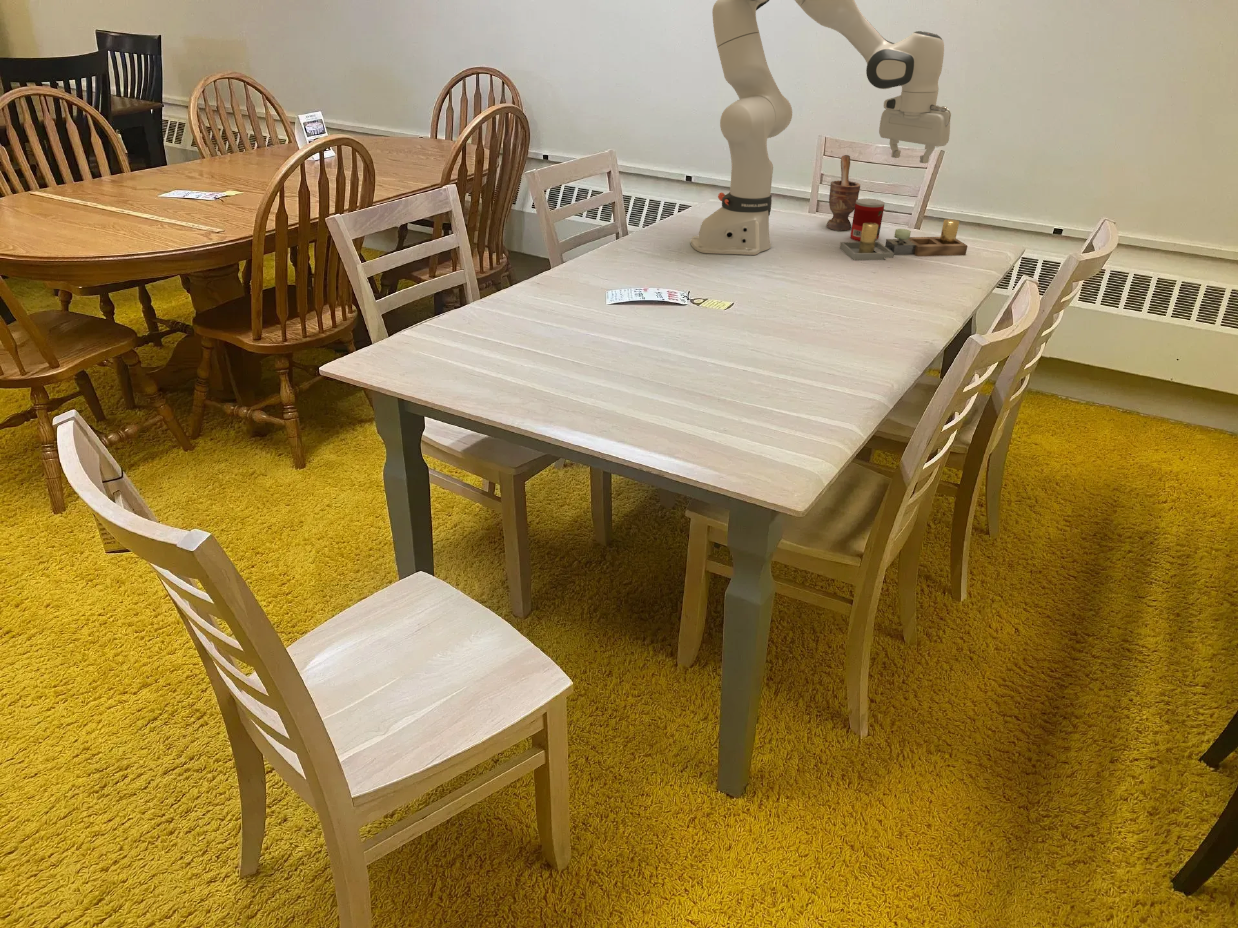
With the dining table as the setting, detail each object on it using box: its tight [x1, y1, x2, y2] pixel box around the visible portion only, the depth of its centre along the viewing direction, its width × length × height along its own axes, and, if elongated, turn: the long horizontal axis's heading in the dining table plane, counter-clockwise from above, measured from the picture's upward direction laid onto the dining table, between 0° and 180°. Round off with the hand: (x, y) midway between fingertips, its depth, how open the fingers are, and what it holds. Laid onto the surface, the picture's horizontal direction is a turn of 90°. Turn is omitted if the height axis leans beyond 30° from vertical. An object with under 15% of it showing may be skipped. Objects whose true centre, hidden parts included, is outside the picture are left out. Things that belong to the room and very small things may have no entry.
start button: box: [893, 228, 912, 244], centre depth 227 cm, size 4×4×5 cm
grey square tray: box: [839, 240, 895, 261], centre depth 228 cm, size 11×11×2 cm
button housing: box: [884, 238, 916, 256], centre depth 229 cm, size 6×6×4 cm
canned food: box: [850, 198, 885, 242], centre depth 239 cm, size 8×8×11 cm
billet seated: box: [939, 218, 960, 244], centre depth 228 cm, size 4×4×8 cm
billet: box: [858, 222, 878, 253], centre depth 226 cm, size 4×4×8 cm
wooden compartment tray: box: [908, 236, 968, 257], centre depth 230 cm, size 14×9×4 cm, turn 96°
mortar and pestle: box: [826, 154, 861, 232], centre depth 249 cm, size 12×9×20 cm
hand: (909, 160), depth 218 cm, fingers open, 8 cm apart
